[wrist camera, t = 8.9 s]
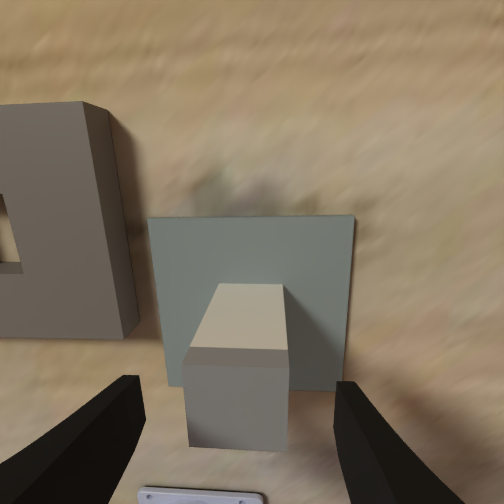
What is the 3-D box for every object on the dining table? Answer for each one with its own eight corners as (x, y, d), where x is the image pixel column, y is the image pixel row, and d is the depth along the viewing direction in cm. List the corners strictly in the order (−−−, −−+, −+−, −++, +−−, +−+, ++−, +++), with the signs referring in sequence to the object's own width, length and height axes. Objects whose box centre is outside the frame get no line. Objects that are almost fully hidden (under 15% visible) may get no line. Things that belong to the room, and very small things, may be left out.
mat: (352, 215, 15) (354, 216, 15) (339, 387, 18) (341, 391, 18) (150, 217, 16) (146, 219, 15) (170, 381, 19) (168, 386, 19)
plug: (282, 284, 16) (289, 368, 9) (281, 340, 17) (286, 452, 10) (219, 283, 16) (180, 364, 10) (221, 338, 17) (189, 446, 11)
